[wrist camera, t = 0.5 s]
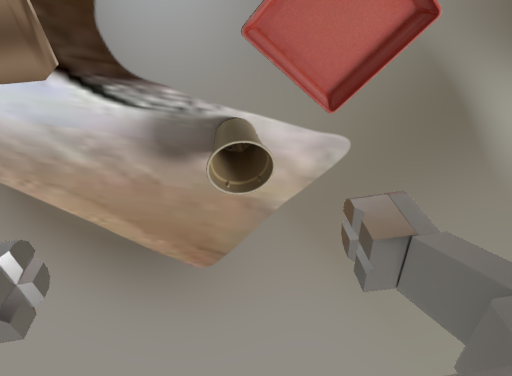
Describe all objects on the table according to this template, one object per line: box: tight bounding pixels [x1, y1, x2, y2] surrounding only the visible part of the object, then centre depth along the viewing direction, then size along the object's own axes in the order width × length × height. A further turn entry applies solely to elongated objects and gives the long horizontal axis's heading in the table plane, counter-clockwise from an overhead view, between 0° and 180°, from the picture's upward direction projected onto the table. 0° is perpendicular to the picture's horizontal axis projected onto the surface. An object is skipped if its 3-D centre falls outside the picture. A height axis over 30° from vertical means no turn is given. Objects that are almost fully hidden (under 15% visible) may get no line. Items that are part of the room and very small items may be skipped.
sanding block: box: [0, 0, 58, 84], centre depth 35 cm, size 10×6×5 cm, turn 2°
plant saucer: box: [241, 0, 442, 113], centre depth 40 cm, size 18×18×3 cm
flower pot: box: [206, 118, 275, 195], centre depth 47 cm, size 9×9×9 cm
